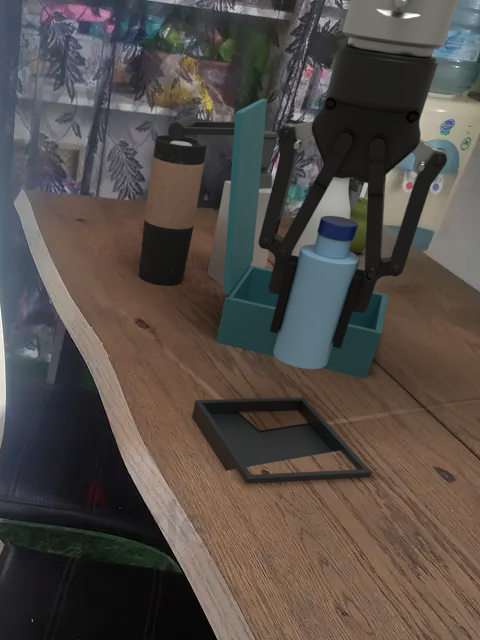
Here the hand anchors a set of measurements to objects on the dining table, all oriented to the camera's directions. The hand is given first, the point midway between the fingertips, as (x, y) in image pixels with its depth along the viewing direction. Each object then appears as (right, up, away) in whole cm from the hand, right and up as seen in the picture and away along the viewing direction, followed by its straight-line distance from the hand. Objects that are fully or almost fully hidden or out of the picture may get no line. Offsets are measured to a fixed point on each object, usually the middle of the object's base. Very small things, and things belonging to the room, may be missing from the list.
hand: (306, 334), depth 70 cm
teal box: (+8, +6, +32) cm, 33 cm away
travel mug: (-10, +21, +48) cm, 53 cm away
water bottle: (0, -2, +1) cm, 2 cm away
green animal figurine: (+28, +32, +70) cm, 82 cm away
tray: (-1, -10, +8) cm, 13 cm away
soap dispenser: (+2, +21, +51) cm, 56 cm away
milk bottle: (+14, +19, +50) cm, 56 cm away
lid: (-1, +23, +24) cm, 33 cm away
